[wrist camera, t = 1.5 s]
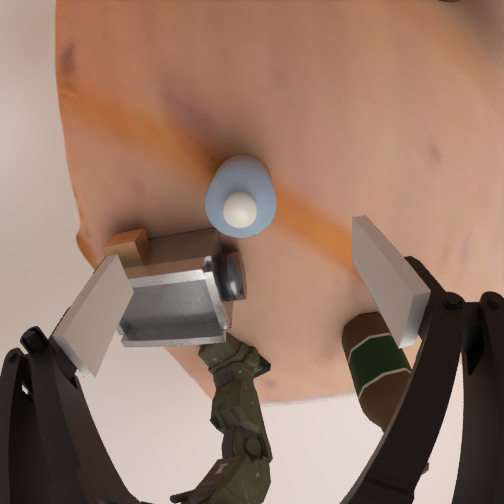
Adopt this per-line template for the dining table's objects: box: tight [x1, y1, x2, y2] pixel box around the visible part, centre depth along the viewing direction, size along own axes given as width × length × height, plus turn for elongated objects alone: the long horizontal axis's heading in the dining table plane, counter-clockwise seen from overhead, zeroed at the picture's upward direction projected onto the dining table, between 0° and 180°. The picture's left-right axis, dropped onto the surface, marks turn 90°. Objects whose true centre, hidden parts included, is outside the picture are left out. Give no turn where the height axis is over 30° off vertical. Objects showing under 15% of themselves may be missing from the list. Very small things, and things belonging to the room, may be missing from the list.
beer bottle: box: [342, 312, 429, 474], centre depth 27 cm, size 8×8×24 cm
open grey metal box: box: [93, 228, 247, 347], centre depth 28 cm, size 15×11×8 cm
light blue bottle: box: [205, 155, 277, 238], centre depth 23 cm, size 6×6×8 cm
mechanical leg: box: [170, 333, 273, 504], centre depth 28 cm, size 14×7×30 cm, turn 41°
